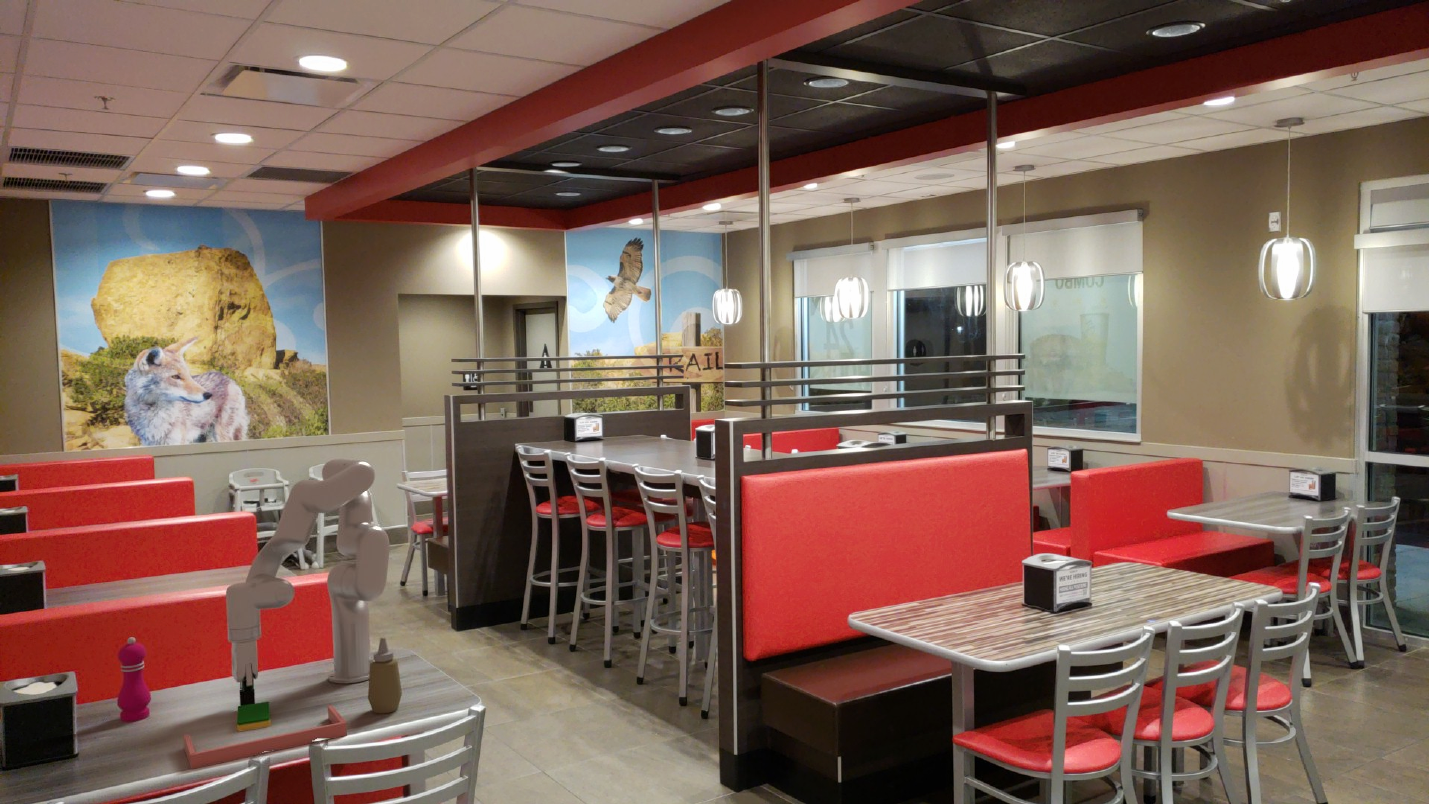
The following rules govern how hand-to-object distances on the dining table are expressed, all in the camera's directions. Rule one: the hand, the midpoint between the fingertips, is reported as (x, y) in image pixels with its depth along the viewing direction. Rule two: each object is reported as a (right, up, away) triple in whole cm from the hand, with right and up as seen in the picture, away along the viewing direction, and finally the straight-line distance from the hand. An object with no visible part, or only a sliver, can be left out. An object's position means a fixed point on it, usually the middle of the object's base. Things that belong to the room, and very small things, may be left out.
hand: (247, 705), depth 251 cm
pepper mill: (-26, -2, -4) cm, 26 cm away
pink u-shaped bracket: (+15, -1, -23) cm, 27 cm away
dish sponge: (+5, -2, -8) cm, 10 cm away
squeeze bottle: (+36, 0, -4) cm, 36 cm away
